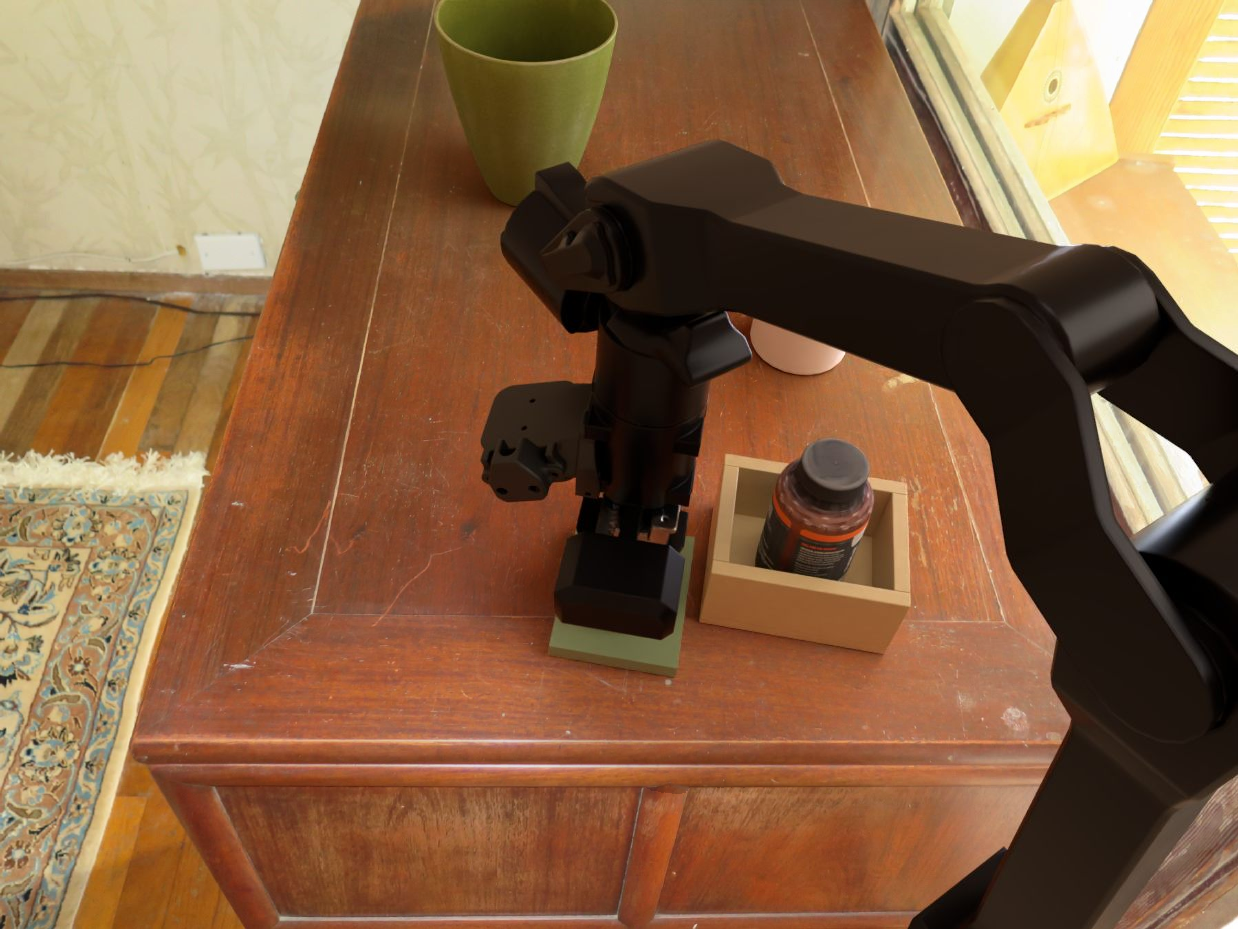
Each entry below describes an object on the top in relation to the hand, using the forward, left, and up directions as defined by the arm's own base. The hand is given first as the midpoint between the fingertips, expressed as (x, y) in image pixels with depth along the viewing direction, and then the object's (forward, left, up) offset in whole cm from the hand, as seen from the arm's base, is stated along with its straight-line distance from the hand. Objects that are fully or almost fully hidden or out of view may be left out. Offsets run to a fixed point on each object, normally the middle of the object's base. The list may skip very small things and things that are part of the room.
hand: (629, 561), depth 61 cm
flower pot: (+43, +16, -4) cm, 46 cm away
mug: (+27, -8, -4) cm, 28 cm away
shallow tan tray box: (+4, -11, -4) cm, 13 cm away
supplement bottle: (+4, -11, -4) cm, 12 cm away
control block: (0, 0, -4) cm, 4 cm away
